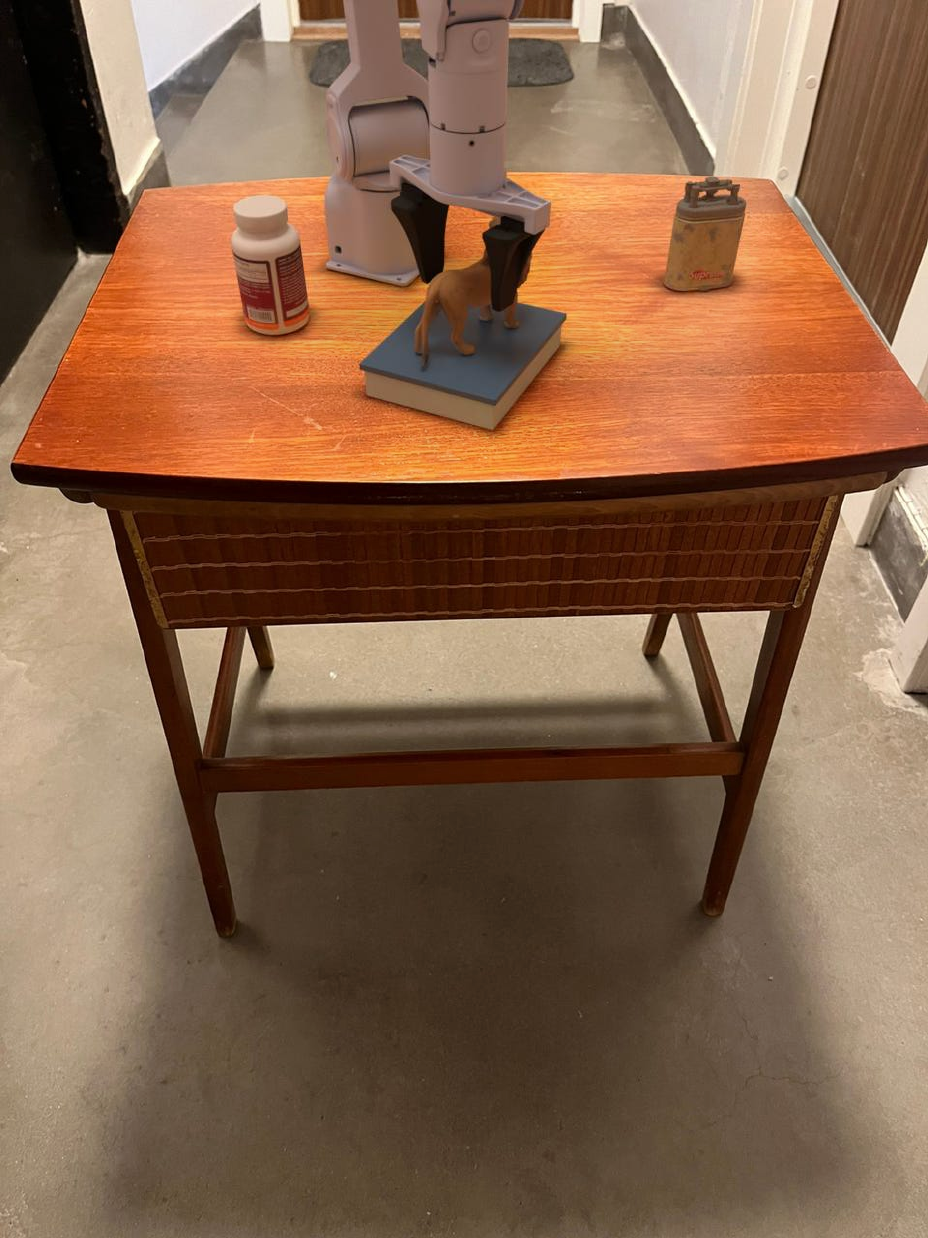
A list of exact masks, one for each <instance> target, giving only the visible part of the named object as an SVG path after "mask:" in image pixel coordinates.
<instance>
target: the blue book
mask: <svg viewBox="0 0 928 1238" xmlns="http://www.w3.org/2000/svg"><path fill="white" fill-rule="evenodd" d="M424 305H425V301H424V302H422V303H421V304H420V305H419V306H418V307H417V308H416V309H415V310H414V311H413V312H412V313H411V314H410V315H408V316H407V318H405V320H404V321H403V322H401V323H400V324H399V325H398V326H397V327H396V328H395V329H394V330H393V331H392V332H391V333H390V334H389V335H388V336H387V337H386V338H384V340H382V342H380V344H378V345H377V346H376V347H375V348H374V349H373V350H372V351H371V352H369V354H368V355H367V356H365V358H363V360H361V361H360V363H359V364H358V365H359V366H358V367H359V370H360V371H363V372H364V378H365V392H366V396H368V397H371V398H374V399H378V400H382V401H385V402H389V403H393V404H397V405H400V406H402V407H403V406H404V407H406V408H407V407H408V408H410V409H414V410H418V411H421V412H425V413H429V414H432V415H436V416H439V417H442V418H443V417H444V418H447V419H450V420H454V421H458V422H461V423H465V424H468V425H473V426H475V427H479V428H483V429H486V430H489V431H493V430H495V428H497V426H498V424H499V423H500V422H501V421H502V420H503V418H504V417H505V416H506V414H507V413H508V412H509V410H510V409H511V408H512V407H513V405H514V404H515V403H516V402H517V401H518V400H519V398H520V397H521V395H522V394H523V393H524V392H525V391H526V390H527V388H528V387H529V385H530V384H531V383H532V382H533V380H534V379H536V377H537V376H538V374H539V373H540V372H541V370H542V369H543V368H544V367H545V365H546V364H547V363H549V360H550V359H551V358H552V356H553V355H554V354H555V353H556V352H557V350H558V349H559V348H560V347H561V339H562V326H563V324H564V323H565V322H566V321H567V315H568V314H567V313H565V312H561V311H557V310H552V309H548V308H544V307H541V306H540V307H539V306H536V305H532V304H526V303H523V302H519V301H517V305H516V309H515V314H514V317H513V318H514V319H517V321H518V322H519V325H518V327H517V328H508V327H507V326H506V325H505V323H504V313H505V309H504V310H502V311H501V312H497V311H495V310H493V309H492V304H491V312H492V314H493V317H492V319H491V320H489V321H483V320H480V318H479V312H480V308H474V309H472V308H467V319H466V322H465V326H464V330H463V334H462V337H463V341H464V343H465V344H467V343H468V344H471V345H472V346H473V347H474V348H475V352H474V353H473V354H470V355H464V354H462V353H461V352H460V351H459V350H458V349H457V348H456V346H455V345H454V344H453V343H452V342H451V340H450V338H451V326H450V323H449V321H448V319H447V317H446V315H445V313H444V311H443V309H442V310H441V312H440V313H439V315H438V316H437V318H436V319H435V320H434V322H433V323H432V324H431V326H430V327H429V331H428V346H429V358H428V362H427V363H426V364H425V365H420V360H421V357H422V353H417V352H416V351H415V349H414V344H415V331H416V328H417V326H418V325H419V323H420V322H421V319H422V316H423V311H424Z"/></svg>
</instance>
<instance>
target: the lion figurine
mask: <svg viewBox="0 0 928 1238" xmlns="http://www.w3.org/2000/svg"><path fill="white" fill-rule="evenodd" d="M497 224H498V225H500V218H497V217H494V216H492V219H491V220H489V222H488V229H490V228H492V227H494V226H495V225H497ZM532 259H533V251H532V252H531V254H530V256H529V258H528V261H527V263H526V265H525V267H524V270H523V273H522V275H521V278H520V281H519V284H518V288H517V291H516V295H515V299H514V303H513V304H512V305H510V306H509V307H507V308H506V309H505V313H504V323H505V325H506V326H507V327H508V328H517V327H518V325H519V322H518V321H517V319H514V318H513V317H514V314H515V309H516V305H517V302H518V301H519V300H518V299H519V293H518V289H520V288H521V286H522V285H523V284H525V282H527V281H528V275H529V274H530V271H531V264H532ZM425 296H426V297H425V300H424V302H425V305H424V311H423V316H422V319H421V322H420V323H419V325H418V326H417V328H416V331H415V344H414V349H415V351H416V352H417V353H422V357H421V360H420V365H425V364H426V363H427V362H428V358H429V346H428V331H429V327H430V326H431V324H432V323H433V322H434V320H435V319H436V318H437V316H438V315H439V313H440V312H441V310H442V309H443V311H444V313H445V315H446V317H447V319H448V321H449V323H450V326H451V338H450V340H451V342H452V343H453V344H454V345H455V346H456V348H457V349H458V350H459V351H460V352H461V353H462V354H464V355H470V354H473V353H474V352H475V348H474V347H473V346H472V345H471V344H468V343H467V344H465V343H464V341H463V337H462V334H463V330H464V326H465V322H466V319H467V308H472V309H474V308H480V312H479V318H480V320H483V321H489V320H491V319H492V317H493V314H492V312H491V272H490V264H489V259H488V254H487V250H486V247H485V248H484V251H483V256H482V258H480V259H479V260H478V261H476V262H474V263H473V264H470V265H469V266H467V267H464V268H461V269H460V268H459V269H448V270H443V272H441V273H439V274H438V275H436V276H435V277H434V278H433V279H432V281H431V282H430V283H429V284H428V286H427V290H426V295H425Z"/></svg>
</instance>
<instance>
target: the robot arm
mask: <svg viewBox="0 0 928 1238" xmlns="http://www.w3.org/2000/svg"><path fill="white" fill-rule="evenodd" d="M342 1H343V2H342V3H343V8H344V18H345V27H346V34H347V41H348V50H349V51H348V52H349V58H350V62H349V64H348V65H347V67H346V68H345V69H344V70H343V71H342V73H340V75H338V77H337V78H335V80H334V81H333V82H332V84H330V86H329V88H328V89H327V91H326V93H325V95H326V97H325V99H324V102H325V111H326V122H325V132H326V142H327V149H328V153H329V158H330V162H331V164H332V168H333V170H334V172H333V173H332V174H331V175H330V177H329V179H328V180H327V184H326V188H325V191H324V192H325V193H324V204H323V205H324V207H323V208H324V216H325V228H326V238H327V247H328V256H329V257H328V258H329V260H328V261H327V262H326V263H325V268H326V269H328V270H331V271H336V272H339V273H344V274H349V275H353V276H357V277H362V278H366V279H369V280H374V281H378V282H383V283H387V284H391V285H395V286H400V287H407V286H409V285H410V284H411V283H412V282H413V281H414V280H416V278H417V277H419V276H420V280H421V283H424V284H426V285H429V283H430V282H431V281H432V279H433V278H434V277H435V276H436V275H438V274H439V273H441V272H444V269H445V256H446V255H445V254H446V253H445V250H446V249H445V245H446V227H447V221H448V214H449V209H450V206H452V207H459V208H465V209H470V210H474V211H476V212H480V213H483V214H486V215H488V216H492V217H497V218H500V225H498V224H497V225H495V226H494V227H492V228H490V229H489V228H488V229H486V230H485V231H483V232H482V235H481V238H482V241H483V243H484V246H485V247H486V250H487V254H488V259H489V264H490V272H491V304H492V309H493V310H495V311H497V312H501V311H502V310H504V309H506V308H507V307H509V306H510V305H512V304H513V303H514V299H515V295H516V291H517V292H518V289H519V288H518V284H519V281H520V278H521V275H522V273H523V270H524V267H525V265H526V263H527V261H528V258H529V256H530V254H531V252H532V253H533V251H534V249H535V246H536V245H537V244H538V242H539V240H540V239H541V237H542V236H543V234H544V233H545V231H546V229H547V228H549V227H550V226H551V211H552V209H551V208H552V201H551V200H549V199H546V198H543V197H542V196H541V197H540V196H538V195H537V194H535V193H533V192H532V191H530V190H528V189H526V188H525V187H523V186H522V185H520V184H519V183H517V182H515V181H514V180H513V179H510V178H509V177H507V176H508V175H507V173H508V170H507V168H506V143H507V142H506V139H507V111H508V110H507V107H508V77H509V76H508V75H509V45H510V44H509V43H510V23H509V22H508V20H509V21H514V20H516V19H517V18H518V16H520V13H521V12H522V9H523V6H524V2H525V0H415V3H416V7H417V11H418V18H419V31H420V40H421V47H422V50H423V51H424V52H426V53H427V77H428V79H426V78H425V77H424V76H422V74H420V72H417V71H416V70H415V69H414V68H412V67H410V66H409V65H408V64H406V62H404V57H403V48H402V47H403V45H402V37H401V27H400V17H399V16H400V15H399V6H398V4H399V3H398V0H342ZM399 97H400V98H401V97H406V99H398V100H397V99H396V100H390V101H381V102H374V103H367V104H359V103H362V102H369V101H377V100H384V99H391V98H399ZM357 104H359V105H357ZM517 288H518V289H517Z"/></svg>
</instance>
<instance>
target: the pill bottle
mask: <svg viewBox="0 0 928 1238" xmlns="http://www.w3.org/2000/svg"><path fill="white" fill-rule="evenodd" d="M232 211H233V218H234V222H235V225H236V226H237V228H235V230H234V231H233V232H232V235H231V237H230V246H231V252H232V257H233V258H232V259H233V263H234V269H235V274H236V280H237V285H238V291H239V295H240V301H241V307H242V313H243V318H244V321H245V323H246V325H247V326H248V327H249V329H251V330H252V331H254V332H256V333H259V334H262V335H267V336H279V335H286V334H290V333H292V332H295V331H298V330H299V329H301V328H302V327H303V326H306V324H307V323H308V321H309V319H310V314H311V313H310V303H309V296H308V288H307V282H306V275H305V267H304V260H303V253H302V245H301V238H300V234H299V232H298V230H297V228H296V227H295V226H294V225H293V224H291V223H290V222H289V212H288V205H287V202H286V201H285V200H284V199H283V198H281V197H279V196H275V195H267V194H260V195H252V196H248V197H245V198H241V199H240V200H238V201H237V202H235V204H234V205H233V209H232Z"/></svg>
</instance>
